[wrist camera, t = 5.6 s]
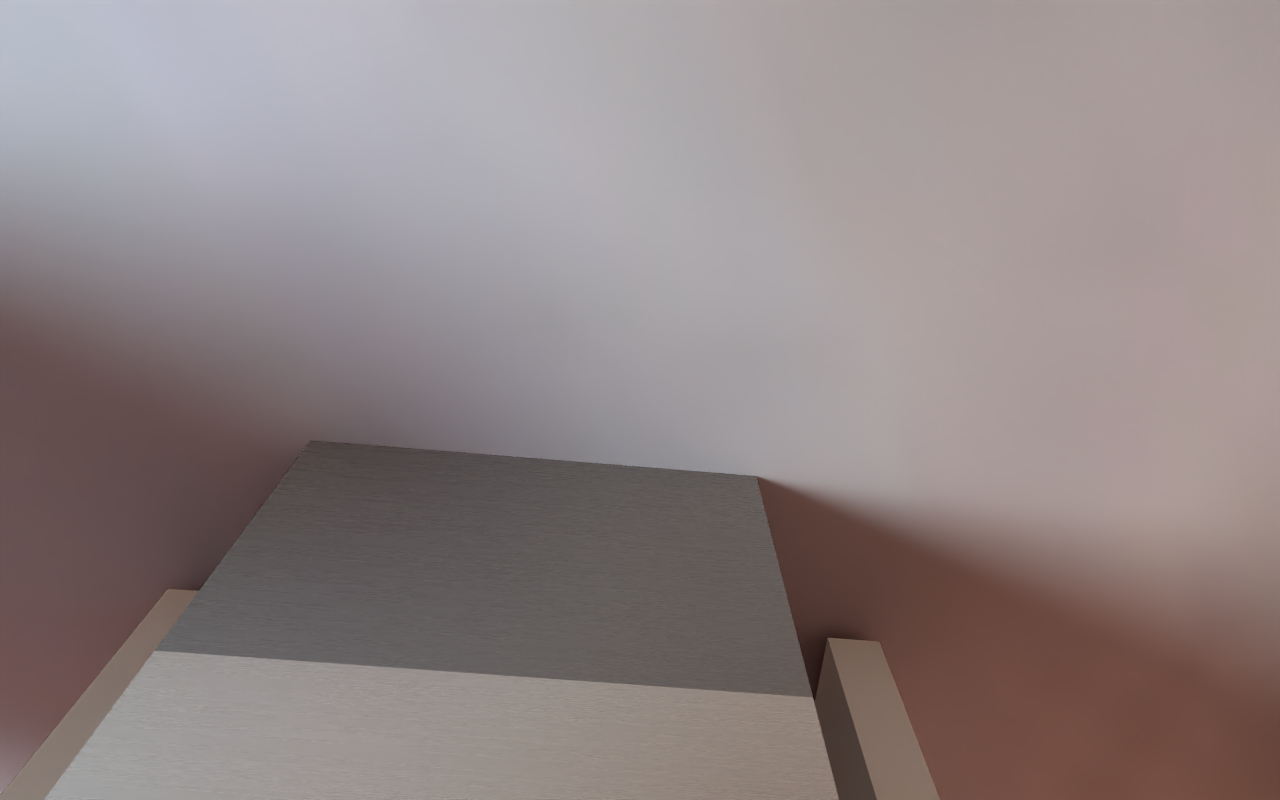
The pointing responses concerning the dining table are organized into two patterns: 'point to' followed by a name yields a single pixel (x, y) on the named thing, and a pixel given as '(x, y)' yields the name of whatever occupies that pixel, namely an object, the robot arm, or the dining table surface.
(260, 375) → the dining table surface
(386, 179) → the dining table surface
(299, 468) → the block
